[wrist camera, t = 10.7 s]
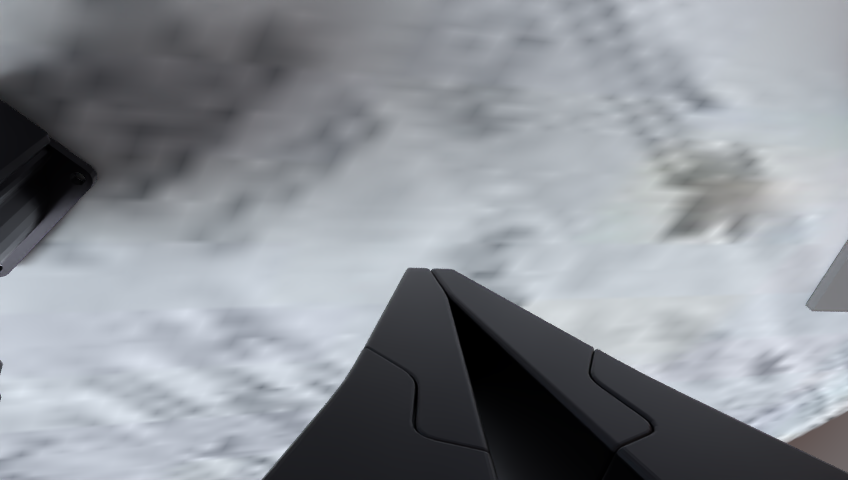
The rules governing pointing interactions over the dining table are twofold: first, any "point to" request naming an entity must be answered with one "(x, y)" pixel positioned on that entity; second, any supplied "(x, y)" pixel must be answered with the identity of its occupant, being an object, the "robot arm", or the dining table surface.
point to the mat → (833, 287)
